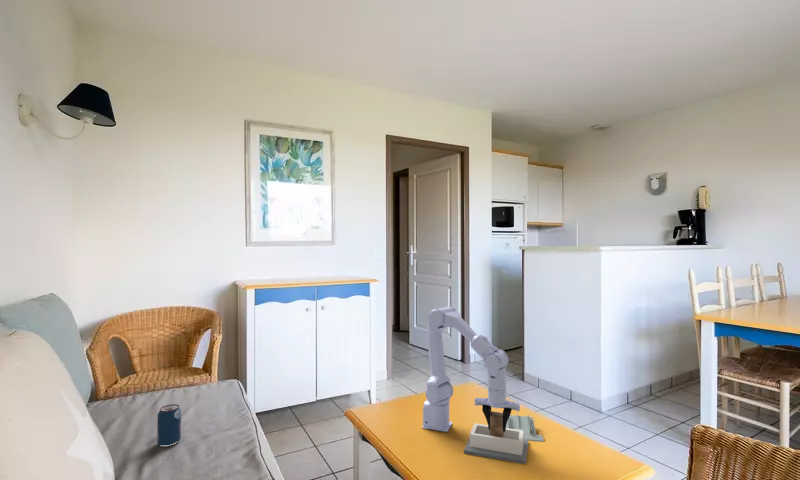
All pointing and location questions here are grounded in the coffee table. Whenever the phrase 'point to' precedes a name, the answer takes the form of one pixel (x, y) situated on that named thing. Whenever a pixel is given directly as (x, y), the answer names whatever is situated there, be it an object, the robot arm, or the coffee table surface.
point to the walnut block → (496, 424)
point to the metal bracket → (524, 427)
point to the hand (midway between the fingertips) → (497, 429)
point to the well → (497, 444)
